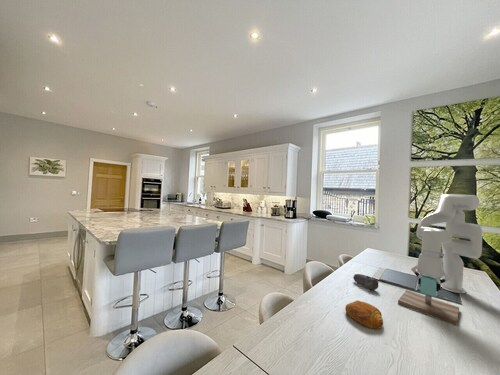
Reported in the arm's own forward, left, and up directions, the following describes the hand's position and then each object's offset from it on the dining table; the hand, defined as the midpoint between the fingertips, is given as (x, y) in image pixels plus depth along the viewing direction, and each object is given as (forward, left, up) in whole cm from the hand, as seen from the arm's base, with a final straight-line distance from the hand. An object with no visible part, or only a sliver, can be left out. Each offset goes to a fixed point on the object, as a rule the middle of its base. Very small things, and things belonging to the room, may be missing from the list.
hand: (428, 287), depth 109 cm
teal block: (0, 0, -3) cm, 3 cm away
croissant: (+38, -17, -11) cm, 43 cm away
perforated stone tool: (+2, -30, -10) cm, 32 cm away
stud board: (0, 0, -10) cm, 10 cm away
